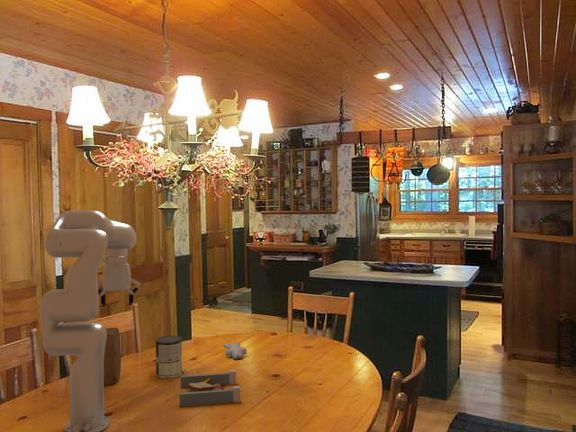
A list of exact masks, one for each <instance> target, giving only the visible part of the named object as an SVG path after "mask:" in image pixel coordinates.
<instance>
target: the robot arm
mask: <svg viewBox="0 0 576 432" xmlns="http://www.w3.org/2000/svg"><path fill="white" fill-rule="evenodd" d="M137 240H138V239H137V233H136V231H135V229H134V228H133V227H132V226H131V225H129V224H127V223H124V222H123V223H122V222H119V221H115V220H111V219H109V218H108V217H107V216H106V215H105V213H102V212H101V211H98V210H91V209H90V210H85V209H84V210H74V209H73V210H66V211H64V212H62V213H60V214H59V216H58V217H57V218H56V220H55V221H54V223H53V224H52V226H51V227H50V229H48V232H47V234H46V236H45V239H44V248H45V251H46V253H47V254H48V255H49V256H50V257H51V258H52V257H53V258H61V259H62V258H77V259H76V261H75V262H74V263H72V265H71V266H70V267H69V268H68V270H67V272H66V273H65V274H66V275H65V285H66V289H65V288H63V289H50V290H48V291H46V292H45V293H44V295H43V296H42V297H41V301H40V307H39V311H40V312H39V313H40V315H39V316H40V324H41V325H40V326H41V333H42V343H43V348H44V351H45V353H46V354H47V355H49V356H56V357H58V356H61V357H64V356H77V357H78V358H77V359H76V361H74V362H73V364H72V366H71V367H70V370H69V417H70V418H69V421H67V423H66V424H65V425H64V432H102V431H104V430H106V429H107V428H108V427H109V426H110V420H111V419H110V418H109V417H108V416H106V415H105V385H104V352H105V345H106V338H107V332H106V328H107V327H105V326H104V324H102V323H99V322H93V320H94V319H96V318H97V316H98V315H99V311H100V304H101V305H102V307H106V306H107V305H106V304H107V300H106V297H107V295H106V293H107V292H123V291H124V292H125V291H127V292H128V293H129V295H128V305H129V306H132V303H134V294H135V293H136V292H137V291H138V290H139V288H140V286H141V284H142V282H141V281H138V280H136V279H134V278H132V272H131V266H130V264H129V263H128V250H131V249H134V248H135V246H136V244H137ZM105 254H106V257H104V256H105ZM103 262H105V264H104V265H103V266H104V267H103V273H102V280H99V281H98V274H99V269H100V266H101V264H102V263H103ZM132 284H134V285H135V288H133V289H132ZM101 285H102V289H101V288H100V287H99V286H101ZM99 299H100V300H99ZM90 321H91V322H90Z"/></svg>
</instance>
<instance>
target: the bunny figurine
mask: <svg viewBox="0 0 576 432" xmlns="http://www.w3.org/2000/svg"><path fill="white" fill-rule="evenodd" d="M240 343H241V342H239V341H237V342H235V343H223V347H224V348H226V350H225V353H224V354H225V357H231V358H232V360H237V359H239V358H240V359H243V356H244V355H247V354H248V353H247V348H245V347H241V344H240Z"/></svg>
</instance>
